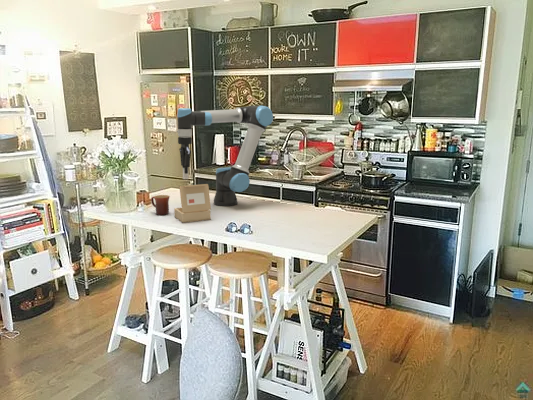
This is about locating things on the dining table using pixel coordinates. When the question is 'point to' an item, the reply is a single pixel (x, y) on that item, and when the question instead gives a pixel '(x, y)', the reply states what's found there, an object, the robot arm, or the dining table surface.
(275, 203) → the dining table surface
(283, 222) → the dining table surface
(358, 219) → the dining table surface
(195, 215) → the mailer box
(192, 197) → the lid
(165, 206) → the mug
